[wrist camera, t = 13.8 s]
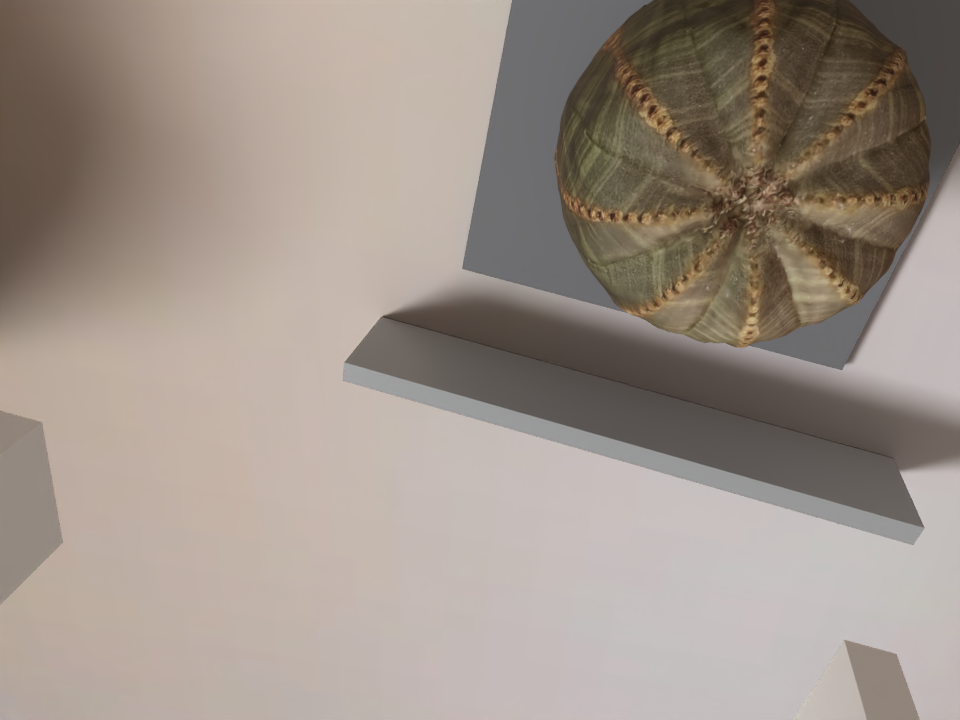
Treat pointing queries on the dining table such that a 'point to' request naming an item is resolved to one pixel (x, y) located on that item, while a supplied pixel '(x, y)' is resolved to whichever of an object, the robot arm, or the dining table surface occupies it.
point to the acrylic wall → (638, 427)
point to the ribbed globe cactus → (742, 164)
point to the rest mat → (536, 124)
